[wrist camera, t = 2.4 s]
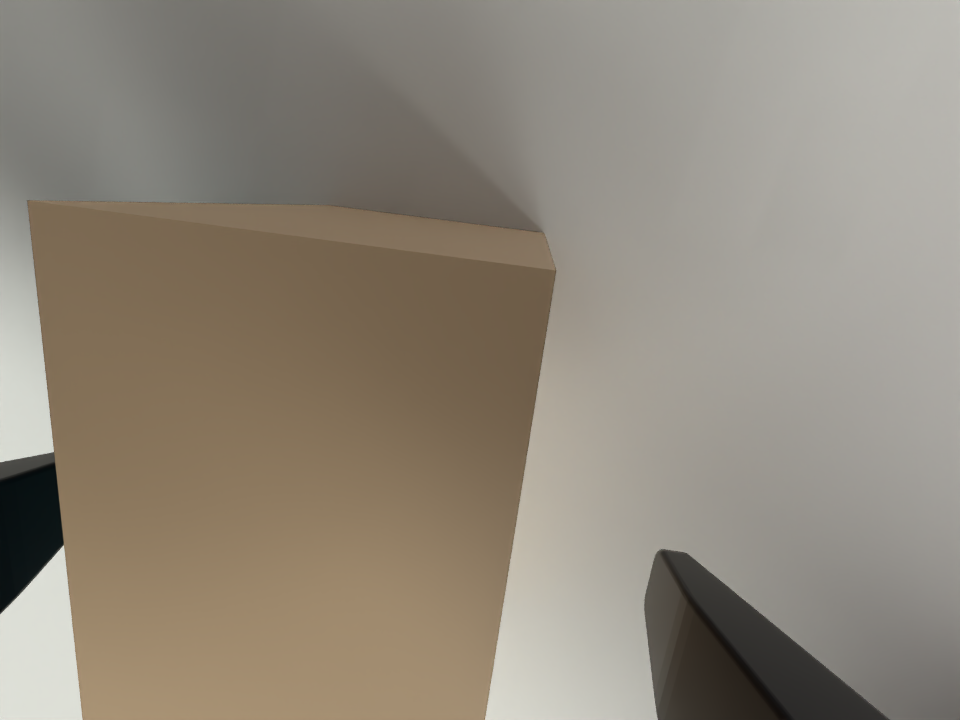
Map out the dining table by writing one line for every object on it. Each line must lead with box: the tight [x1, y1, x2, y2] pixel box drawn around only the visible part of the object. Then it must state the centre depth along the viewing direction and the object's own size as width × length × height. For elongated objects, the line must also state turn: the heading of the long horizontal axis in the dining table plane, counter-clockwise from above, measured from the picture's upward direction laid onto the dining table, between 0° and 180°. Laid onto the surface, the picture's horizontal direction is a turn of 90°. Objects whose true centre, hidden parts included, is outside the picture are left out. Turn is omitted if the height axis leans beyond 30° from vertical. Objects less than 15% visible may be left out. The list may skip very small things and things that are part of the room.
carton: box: [27, 200, 556, 720], centre depth 9 cm, size 5×9×7 cm, turn 173°
